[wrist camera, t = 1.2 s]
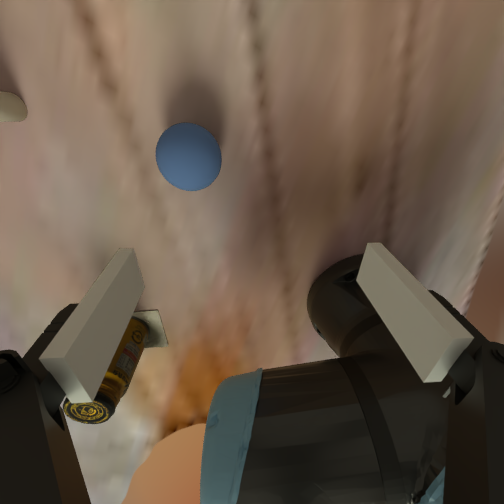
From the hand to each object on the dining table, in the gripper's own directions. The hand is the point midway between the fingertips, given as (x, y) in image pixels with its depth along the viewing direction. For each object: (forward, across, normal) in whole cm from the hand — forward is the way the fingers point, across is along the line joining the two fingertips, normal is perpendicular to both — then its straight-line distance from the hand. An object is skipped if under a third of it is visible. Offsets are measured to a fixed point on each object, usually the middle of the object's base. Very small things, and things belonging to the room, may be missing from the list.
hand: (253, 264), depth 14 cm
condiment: (+15, +17, +22) cm, 31 cm away
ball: (+13, +5, -3) cm, 15 cm away
